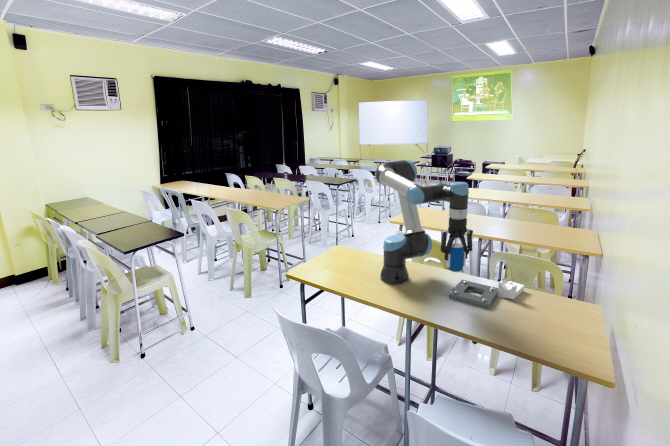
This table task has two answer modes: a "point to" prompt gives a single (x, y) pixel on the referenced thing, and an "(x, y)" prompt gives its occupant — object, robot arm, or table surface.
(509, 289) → the bracket
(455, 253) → the beverage can
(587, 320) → the table surface
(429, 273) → the table surface
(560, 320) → the table surface
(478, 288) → the grey fixture plate
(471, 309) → the table surface
